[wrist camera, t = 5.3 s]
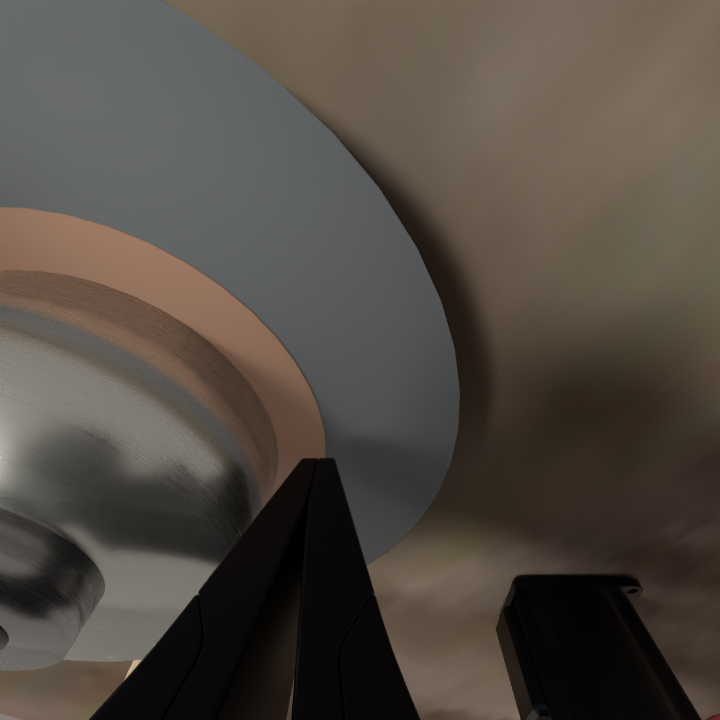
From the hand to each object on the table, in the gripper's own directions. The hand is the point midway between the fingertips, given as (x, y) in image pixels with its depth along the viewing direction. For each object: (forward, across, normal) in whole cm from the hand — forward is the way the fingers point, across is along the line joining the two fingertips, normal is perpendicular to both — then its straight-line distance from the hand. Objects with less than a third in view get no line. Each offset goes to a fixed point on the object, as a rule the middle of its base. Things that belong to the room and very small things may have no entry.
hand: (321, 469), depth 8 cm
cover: (+1, +6, 0) cm, 7 cm away
